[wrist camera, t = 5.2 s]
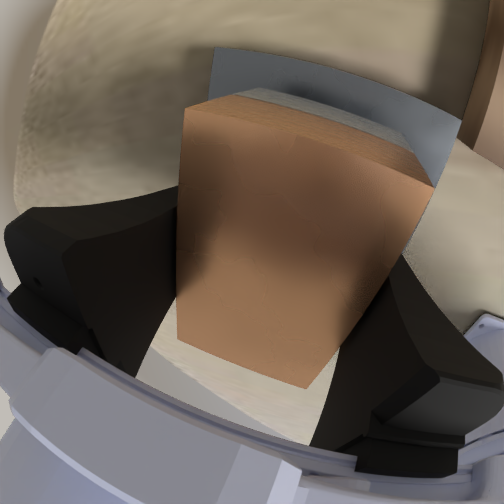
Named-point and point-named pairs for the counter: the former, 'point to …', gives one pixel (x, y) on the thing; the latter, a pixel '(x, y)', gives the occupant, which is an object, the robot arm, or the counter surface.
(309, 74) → the stand
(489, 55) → the stand
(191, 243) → the block
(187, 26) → the counter surface
